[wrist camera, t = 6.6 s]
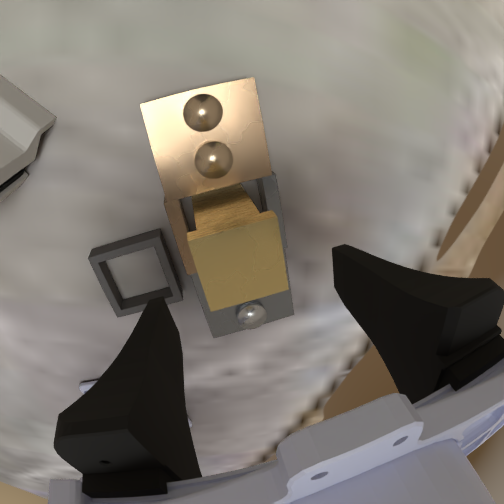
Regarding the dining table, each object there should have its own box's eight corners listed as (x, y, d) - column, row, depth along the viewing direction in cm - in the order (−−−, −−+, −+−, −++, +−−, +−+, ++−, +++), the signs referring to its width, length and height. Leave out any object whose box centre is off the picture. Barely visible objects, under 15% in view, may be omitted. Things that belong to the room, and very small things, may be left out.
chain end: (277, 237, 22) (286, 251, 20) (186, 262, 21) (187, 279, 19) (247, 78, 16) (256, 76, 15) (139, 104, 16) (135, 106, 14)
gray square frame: (182, 290, 22) (182, 300, 21) (119, 307, 21) (117, 317, 20) (160, 228, 20) (159, 236, 18) (92, 249, 19) (88, 258, 18)
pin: (256, 230, 21) (288, 289, 15) (199, 246, 21) (211, 311, 15) (244, 175, 19) (277, 216, 13) (183, 191, 19) (187, 241, 13)
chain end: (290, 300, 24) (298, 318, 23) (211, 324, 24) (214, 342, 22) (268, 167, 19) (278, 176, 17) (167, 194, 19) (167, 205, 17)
